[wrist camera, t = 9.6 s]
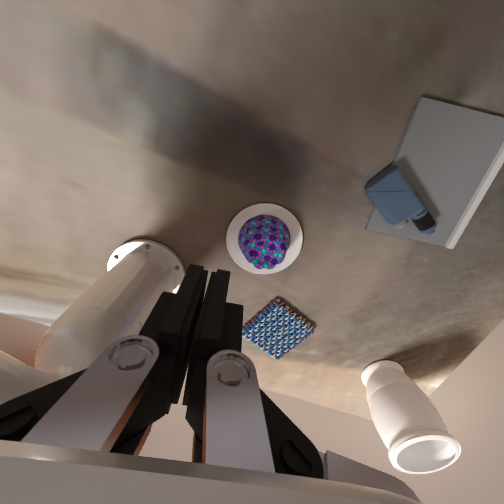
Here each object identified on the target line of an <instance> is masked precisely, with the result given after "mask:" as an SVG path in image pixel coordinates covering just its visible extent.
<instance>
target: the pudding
mask: <svg viewBox="0 0 504 504" xmlns="http://www.w3.org/2000/svg"><path fill="white" fill-rule="evenodd" d="M265 214H266V215H265ZM257 215H261V216H260V217H259V218H258V219H254V218H252V217H254V216H257ZM269 215H272V216H275V217H277V218H279V219H280V220H279V219H275V220H273V219H272V217H271V216H269ZM250 218H252V219H250ZM249 219H250V220H249ZM247 220H248V221H247ZM281 220H282V221H281ZM246 221H247V222H246ZM245 222H246V223H245ZM283 222H284V223H285V224H286V226H287V227H288V229H289V232H290V234H289V232H287V231H286V230H285V224H284V223H283ZM244 223H245V229H243V230H241V231H240V229H241V227H242V226H243V224H244ZM239 231H240V233H239ZM238 234H239V240H240V243H241V246H240V248H241V250H240V248H239V244H238ZM290 236H291V241H290ZM289 241H290V246H289V248H288V245H289ZM302 241H303V235H302V229H301V227H300V224H299V222H298V221H297V219H296V218H295V217H294V215H293V214H292V213H291V212H289V211H288V210H287V209H285V208H283V207H281V206H278V205H275V204H268V203H263V204H256V205H252V206H250V207H247V208H245V209H244V210H242V211H241V212H239V213H238V214H237V215H236V216H235V217H234V219H233V220H232V221H231V223H230V225H229V227H228V231H227V236H226V243H227V248H228V252H229V254H230V256H231V257H232V259H233V260H234V261H235V263H237V264H238V265H239V266H240V267H241V268H243V269H245V270H247V271H249V272H252V273H256V274H272V273H276V272H279V271H281V270H283V269H285V268H286V267H288V266H289V265H290V264H291V263H292V262H293V261H294V260H295V259H296V257H297V256H298V254H299V252H300V250H301V247H302ZM287 248H288V250H287ZM241 251H242V252H241ZM286 251H287V252H286Z"/></svg>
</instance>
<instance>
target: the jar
mask: <svg viewBox="0 0 504 504" xmlns="http://www.w3.org/2000/svg"><path fill="white" fill-rule="evenodd" d="M361 379H362V382H363V384H364V385H365V386H366V395H367V400H368V403H369V407H370V412H371V415H372V419H373V421H374V424H375V426H376V429H377V431H378V433H379V435H380V437H381V438H382V440H383V442H384V444H385V445H386V447H387V448H388V449H389V452H388V456H389V459H390V462H391V464H392V466H393V467H394V468H395V469H397V470H399V471H401V472H404V473H410V474H425V473H431V472H435V471H438V470H441V469H443V468H445V467H447V466H449V465H451V464H452V463H453V462H455V461H456V460H457V458H458V457H459V455H460V453H461V447H460V445H459V443H458V441H457V440H456V439H455V438H454V437H453V436H452V435H451V434H449V433H448V431H447V428H446V426H445V424H444V422H443V420H442V418H441V416H440V414H439V412H438V411H437V409H436V408H435V406H434V405H433V403H432V402H431V401H430V399H429V398H428V397H427V396H426V395H425V394H424V392H423V391H422V390H420V388H419V387H418V386H417V384H416V383H415V382H414V381H413V380H412V379H411V378H410V377H408V376H407V375H406V374H404V370H403V368H402V366H401V365H400V364H398V363H396V362H394V361H389V360H383V361H378V362H375V363H372V364H371V365H369V366H368V367H366V368H365V370H364V371H363V373H362V376H361Z"/></svg>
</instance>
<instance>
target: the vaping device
mask: <svg viewBox="0 0 504 504" xmlns="http://www.w3.org/2000/svg"><path fill="white" fill-rule="evenodd" d="M364 188H365V192H366V194H367V196H368V197H369V198H370V200H371V201H372V203H373V204H374V205H375V207H376V208H377V209H378V211H379V212H380V214H381V215H382V216H383V218H384V219H385V220H386V222H388V223H390V224H391V225H393V226H394V227H395V229H402V228H404V227H405V226H407V225H408V223H409V221H408V218H411V220H412V221H413V223H414V224H415V226H416V227H417V229H418V230H419V231H420V233H427V234H428V235H431V234H433V233H434V232H435V230H434V229H435V228H436V227H437V223H436V222H435V220H433V217H432V216H431V214H430V213H429V211H428V210H427V208H426V206H425V204H424V203H423V201H422V200H421V197H420V196H419V195H418V194H417V193H415V192H414V191H413V189H412V188H411V186H410V185H409V183H408V182H407V180H406V179H405V177H404V176H403V174H402V172H401V171H400V169H399V168H398V166H397V165H391V166H390V167H388V168H386V169H385V170H384V171H382V172H381V173H380V174H378V175H377V176H376V177H374V178H373V179H372V180H370V181H369V182H368V183H367V184H366V185H365V187H364Z"/></svg>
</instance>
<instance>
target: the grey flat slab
mask: <svg viewBox="0 0 504 504" xmlns="http://www.w3.org/2000/svg"><path fill="white" fill-rule="evenodd" d="M503 163H504V118H503V117H499V116H495V115H491V114H487V113H483V112H480V111H476V110H472V109H468V108H464V107H460V106H456V105H452V104H449V103H445V102H441V101H437V100H433V99H429V98H425V97H419V100H418V102H417V104H416V107H415V109H414V112H413V114H412V116H411V119H410V121H409V124H408V126H407V129H406V131H405V133H404V136H403V138H402V141H401V143H400V145H399V148H398V150H397V153H396V155H395V157H394V160H393V162H392V165H397V166H398V168H399V169H400V171H401V172H402V174H403V176H404V177H405V179H406V180H407V182H408V183H409V185H410V186H411V188H412V189H413V191H414V192H415V193H417V194H418V195H419V196H420V197H421V200H422V201H423V203H424V204H425V206H426V208H427V210H428V211H429V213H430V214H431V216H432V217H433V220H435V222H436V223H437V227H436V228H435V229H434V230H435V232H434V233H433V234H431V235H428V234H427V233H420V231H419V230H418V229H417V227H416V226H415V224H414V223H413V221H412V220H411V218H408V221H409V223H408V225H407V226H405V227H404V228H402V229H395V227H394V226H393V225H391V224H390V223H388V222H386V220H385V219H384V218H383V216H382V215H381V214H380V212H379V211H378V209H377V208H376V207H375V206H374V208H373V210H372V213H371V215H370V218H369V220H368V222H367V225H366V227H365V229H366V230H368V231H373V232H378V233H382V234H387V235H392V236H397V237H402V238H406V239H411V240H416V241H421V242H426V243H430V244H435V245H440V246H444V247H446V248H450V249H453V248H454V246H455V245H456V243H457V241H458V239H459V238H460V236H461V234H462V233H463V231H464V229H465V228H466V226H467V224H468V222H469V221H470V219H471V217H472V216H473V214H474V212H475V210H476V209H477V207H478V205H479V204H480V202H481V200H482V198H483V197H484V195H485V193H486V192H487V190H488V188H489V187H490V185H491V183H492V181H493V180H494V178H495V176H496V175H497V173H498V171H499V169H500V168H501V166H502V164H503Z"/></svg>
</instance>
